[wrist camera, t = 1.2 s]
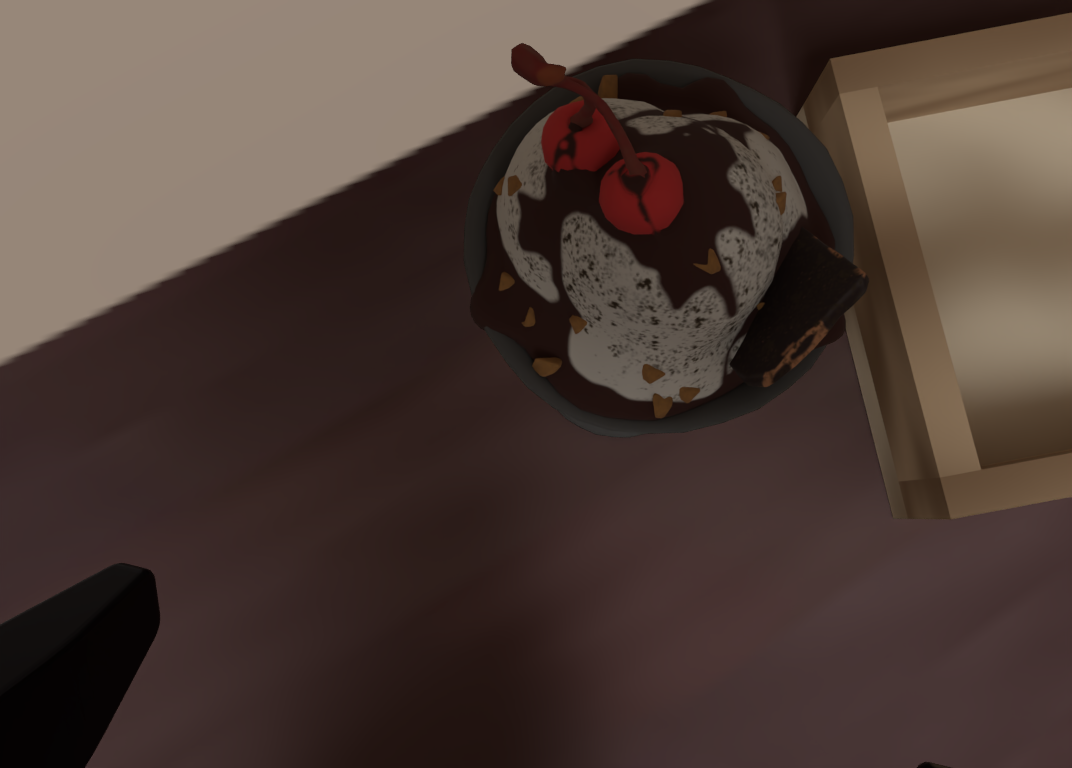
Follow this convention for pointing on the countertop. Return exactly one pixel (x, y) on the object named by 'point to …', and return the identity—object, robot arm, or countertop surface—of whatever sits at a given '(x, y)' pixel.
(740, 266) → the sundae
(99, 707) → the robot arm
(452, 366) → the countertop surface
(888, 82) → the cream square tray
